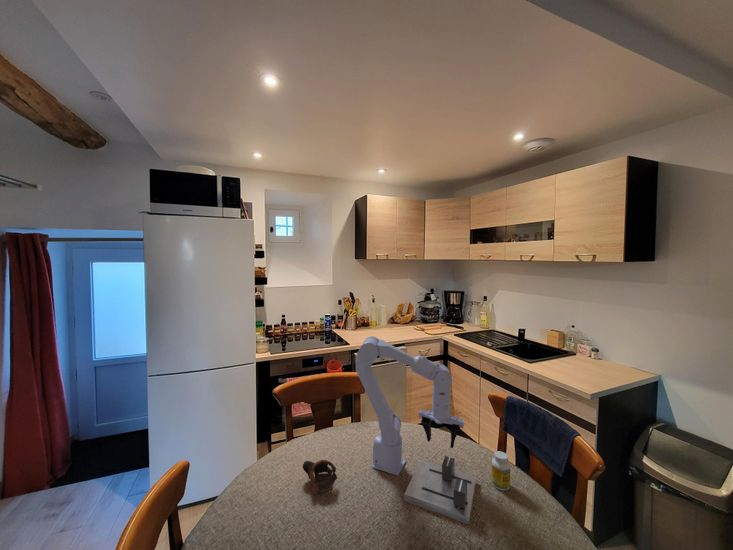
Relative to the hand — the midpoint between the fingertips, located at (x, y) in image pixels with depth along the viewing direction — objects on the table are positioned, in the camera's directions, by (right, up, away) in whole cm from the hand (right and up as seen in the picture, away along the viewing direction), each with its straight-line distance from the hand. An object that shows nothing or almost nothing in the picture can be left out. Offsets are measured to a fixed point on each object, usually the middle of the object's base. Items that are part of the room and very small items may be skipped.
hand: (440, 443), depth 98 cm
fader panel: (-2, -10, -9) cm, 13 cm away
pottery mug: (-39, -10, -6) cm, 41 cm away
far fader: (+1, -7, -5) cm, 9 cm away
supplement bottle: (+17, -10, -6) cm, 21 cm away
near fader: (+2, -8, -15) cm, 17 cm away
